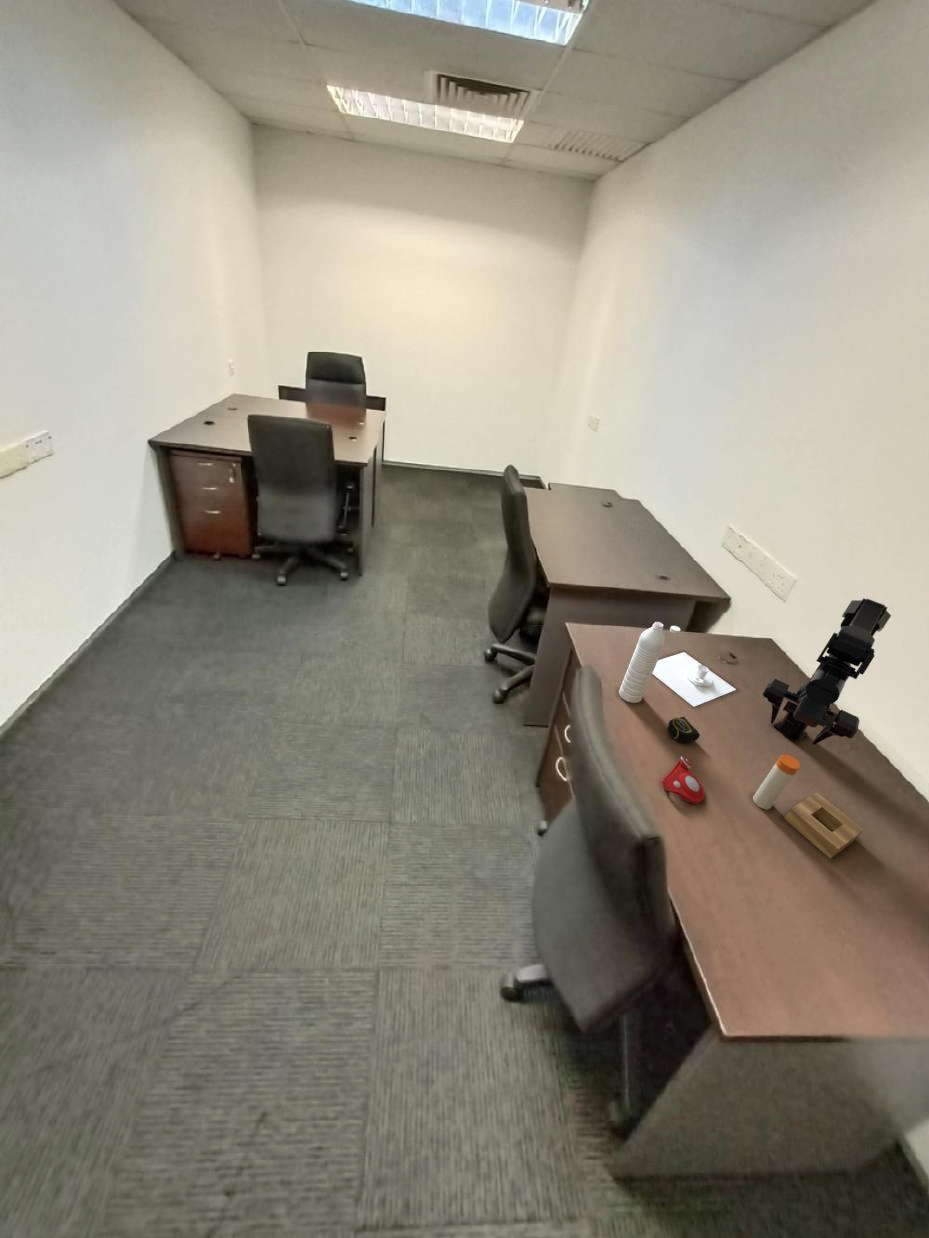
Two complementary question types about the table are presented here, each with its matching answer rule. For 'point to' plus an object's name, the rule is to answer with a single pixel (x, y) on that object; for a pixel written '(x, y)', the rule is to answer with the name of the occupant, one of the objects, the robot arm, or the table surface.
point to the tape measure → (682, 730)
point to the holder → (817, 832)
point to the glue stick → (776, 781)
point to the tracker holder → (684, 783)
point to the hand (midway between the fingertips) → (792, 732)
